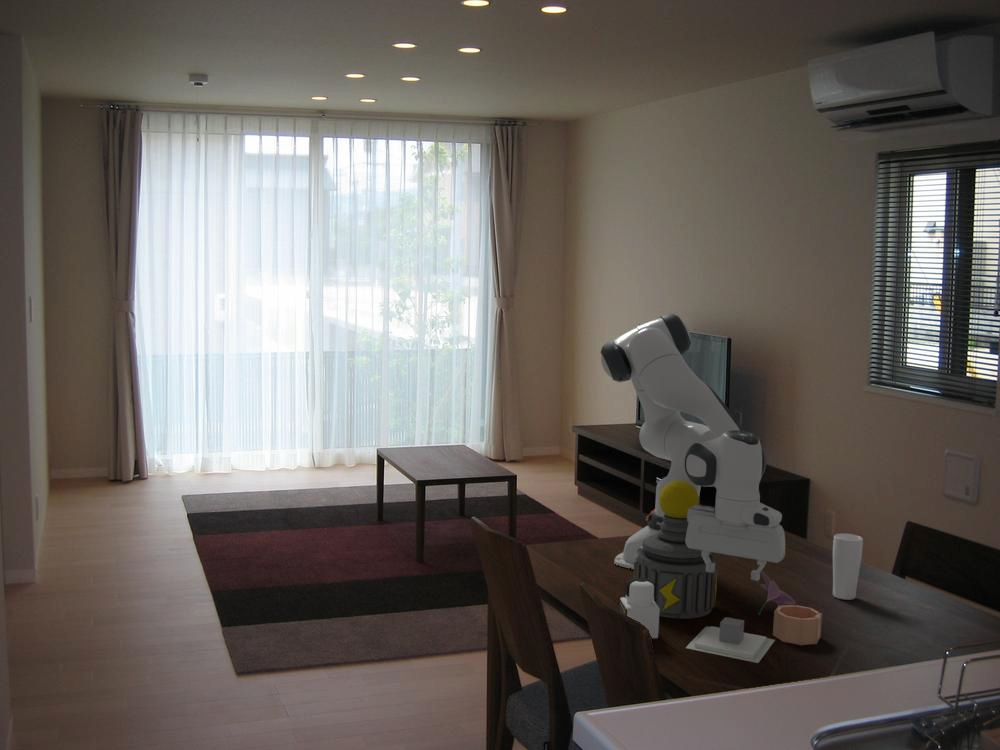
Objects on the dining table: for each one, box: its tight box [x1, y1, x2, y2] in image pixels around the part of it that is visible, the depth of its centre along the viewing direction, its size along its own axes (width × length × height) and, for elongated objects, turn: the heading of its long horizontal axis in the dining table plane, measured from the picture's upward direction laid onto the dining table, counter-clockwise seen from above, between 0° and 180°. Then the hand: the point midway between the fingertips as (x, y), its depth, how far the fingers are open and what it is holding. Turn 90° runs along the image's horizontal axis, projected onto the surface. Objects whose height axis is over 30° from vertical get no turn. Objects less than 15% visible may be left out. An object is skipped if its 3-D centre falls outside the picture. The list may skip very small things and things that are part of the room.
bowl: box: [772, 604, 823, 646], centre depth 224 cm, size 9×9×6 cm
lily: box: [757, 569, 797, 616], centre depth 240 cm, size 12×12×10 cm
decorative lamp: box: [633, 480, 719, 620], centre depth 240 cm, size 19×19×30 cm
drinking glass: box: [832, 533, 864, 601], centre depth 253 cm, size 7×7×15 cm
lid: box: [695, 616, 768, 659], centre depth 218 cm, size 12×12×5 cm
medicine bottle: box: [619, 577, 660, 639], centre depth 223 cm, size 7×7×12 cm
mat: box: [685, 625, 776, 664], centre depth 219 cm, size 15×15×1 cm
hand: (732, 575), depth 217 cm, fingers open, 8 cm apart
